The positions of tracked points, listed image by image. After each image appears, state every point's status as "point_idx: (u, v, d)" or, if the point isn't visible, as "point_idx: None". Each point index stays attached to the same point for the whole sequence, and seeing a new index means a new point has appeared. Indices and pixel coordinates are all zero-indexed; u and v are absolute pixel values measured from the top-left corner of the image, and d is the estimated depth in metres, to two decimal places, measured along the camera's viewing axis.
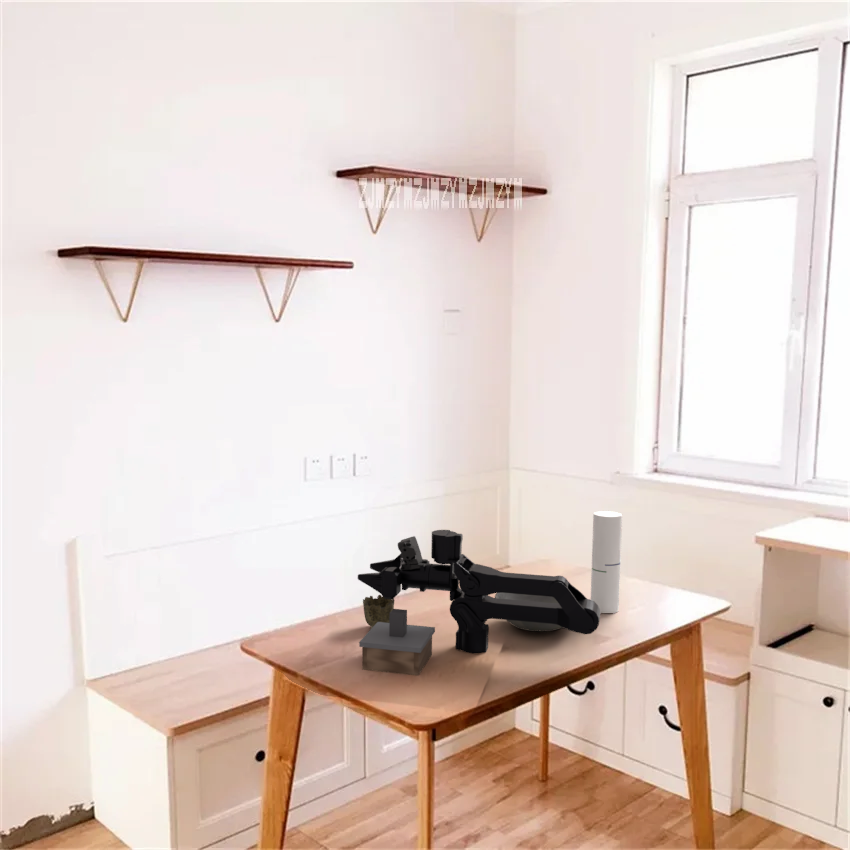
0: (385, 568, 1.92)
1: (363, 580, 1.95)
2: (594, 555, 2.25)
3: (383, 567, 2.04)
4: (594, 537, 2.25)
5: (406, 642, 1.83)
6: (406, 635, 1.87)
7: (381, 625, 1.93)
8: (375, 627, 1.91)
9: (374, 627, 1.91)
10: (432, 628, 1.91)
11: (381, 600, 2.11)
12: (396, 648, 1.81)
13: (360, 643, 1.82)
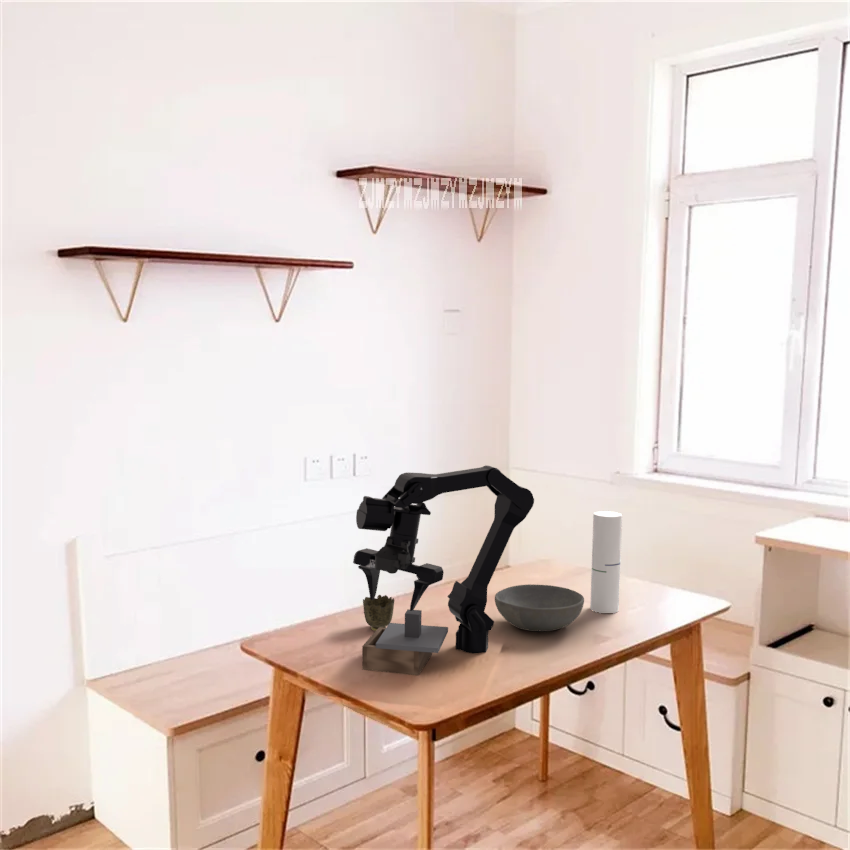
0: (420, 582, 1.82)
1: (416, 603, 1.86)
2: (594, 555, 2.25)
3: (374, 585, 1.89)
4: (594, 537, 2.25)
5: (422, 643, 1.82)
6: (421, 635, 1.87)
7: (394, 626, 1.92)
8: (388, 628, 1.91)
9: (387, 628, 1.91)
10: (445, 628, 1.91)
11: (381, 600, 2.11)
12: (413, 648, 1.80)
13: (376, 644, 1.82)
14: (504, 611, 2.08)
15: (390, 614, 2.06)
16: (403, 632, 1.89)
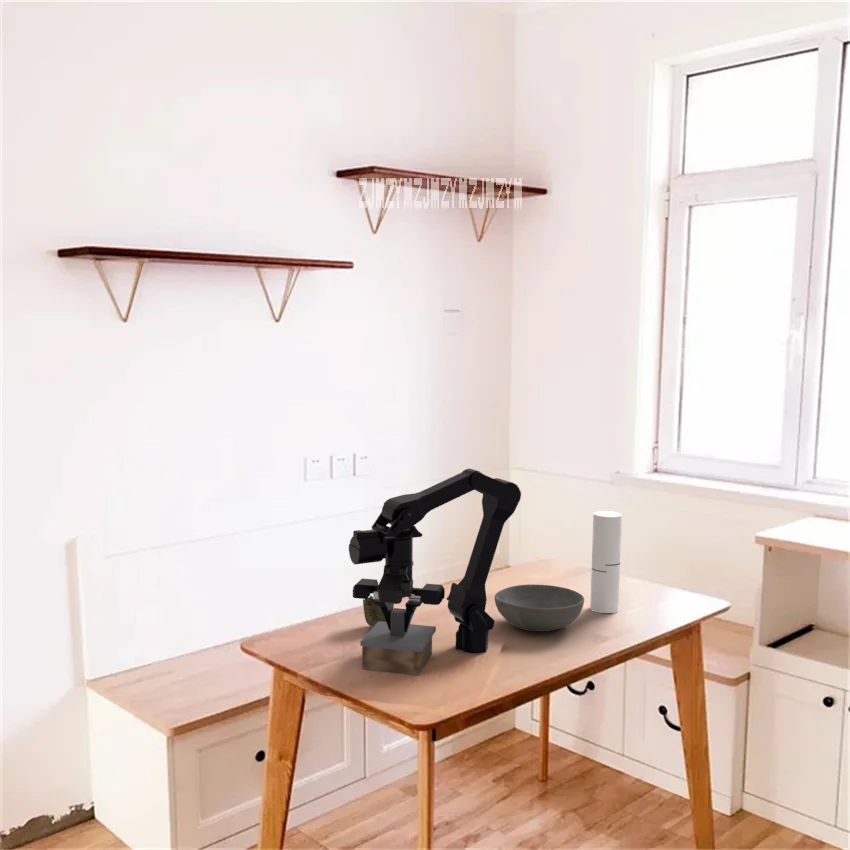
0: (412, 604, 1.83)
1: (409, 624, 1.87)
2: (594, 555, 2.25)
3: (390, 615, 1.87)
4: (594, 537, 2.25)
5: (407, 641, 1.83)
6: (407, 634, 1.87)
7: (382, 625, 1.93)
8: (376, 626, 1.92)
9: (375, 626, 1.92)
10: (433, 627, 1.92)
11: None
12: (397, 647, 1.81)
13: (361, 642, 1.83)
14: (504, 611, 2.08)
15: None
16: (390, 630, 1.89)
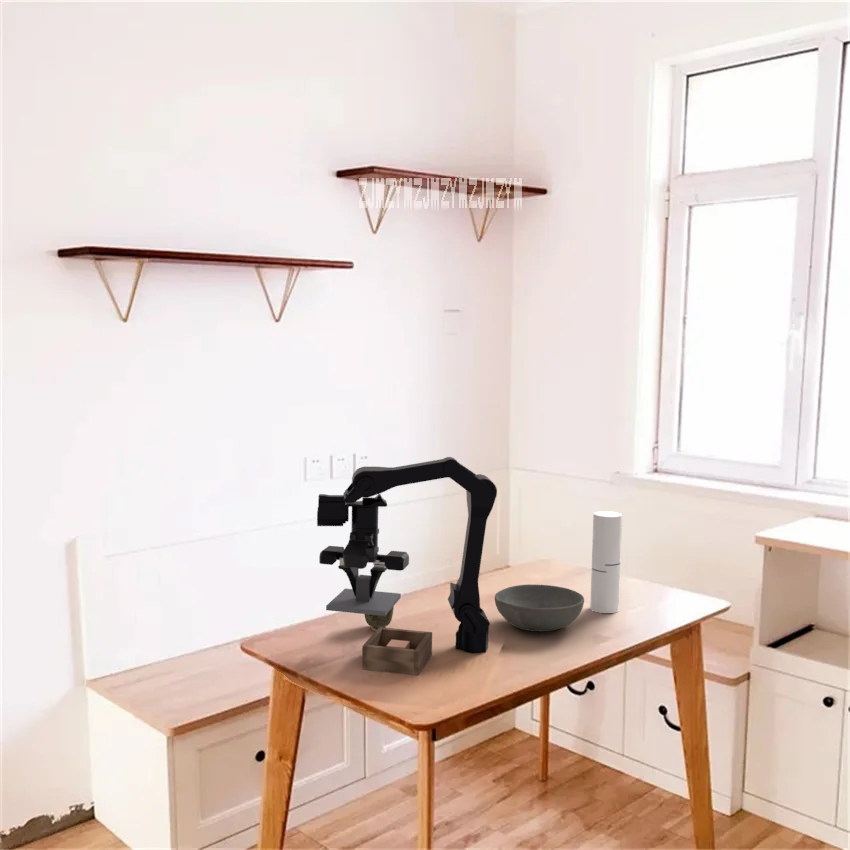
0: (377, 570, 1.88)
1: (374, 590, 1.92)
2: (594, 555, 2.25)
3: None
4: (594, 537, 2.25)
5: (371, 606, 1.88)
6: (372, 600, 1.92)
7: (348, 591, 1.98)
8: (342, 593, 1.97)
9: (341, 593, 1.97)
10: (398, 594, 1.97)
11: None
12: (362, 611, 1.86)
13: (327, 607, 1.88)
14: (504, 611, 2.08)
15: (390, 614, 2.06)
16: (355, 597, 1.94)
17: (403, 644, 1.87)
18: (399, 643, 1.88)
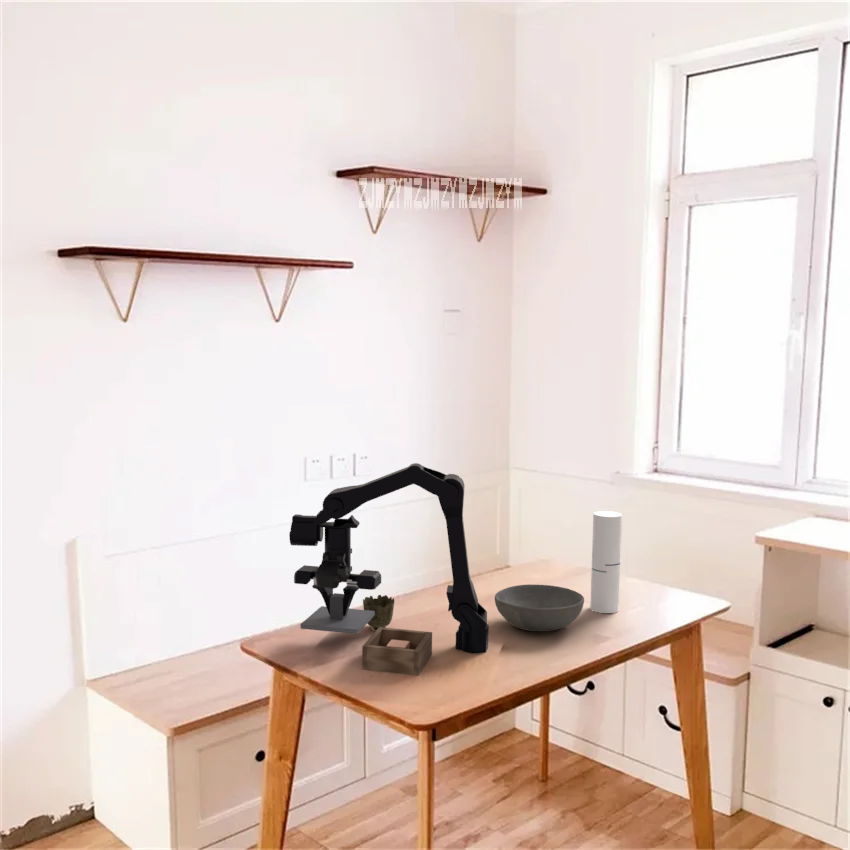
0: (349, 589, 1.93)
1: (348, 608, 1.97)
2: (594, 555, 2.25)
3: None
4: (594, 537, 2.25)
5: (344, 624, 1.93)
6: (346, 618, 1.98)
7: (324, 609, 2.03)
8: (318, 611, 2.02)
9: (317, 611, 2.02)
10: (372, 612, 2.02)
11: (381, 600, 2.11)
12: (334, 629, 1.92)
13: (301, 625, 1.93)
14: (504, 611, 2.08)
15: (390, 614, 2.06)
16: None
17: (403, 644, 1.87)
18: (399, 643, 1.88)
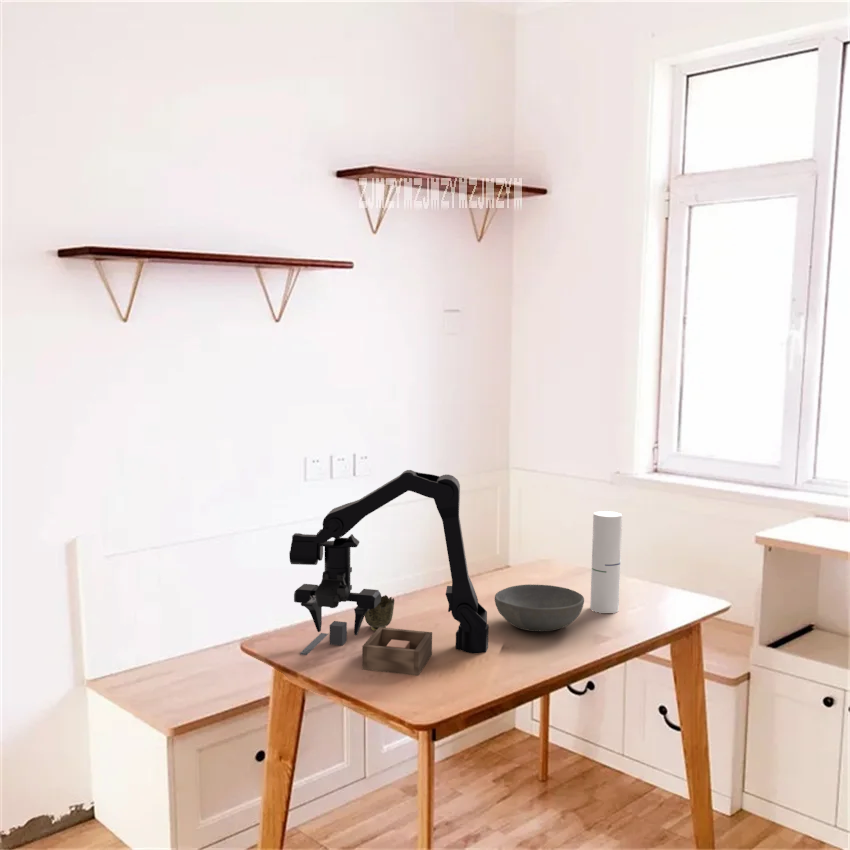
0: (360, 609, 1.93)
1: (359, 628, 1.97)
2: (594, 555, 2.25)
3: (319, 617, 1.99)
4: (594, 537, 2.25)
5: None
6: None
7: (324, 636, 2.04)
8: (318, 638, 2.03)
9: (317, 638, 2.03)
10: None
11: (381, 600, 2.11)
12: None
13: (301, 654, 1.94)
14: (504, 611, 2.08)
15: (390, 614, 2.06)
16: None
17: (403, 644, 1.87)
18: (399, 643, 1.88)
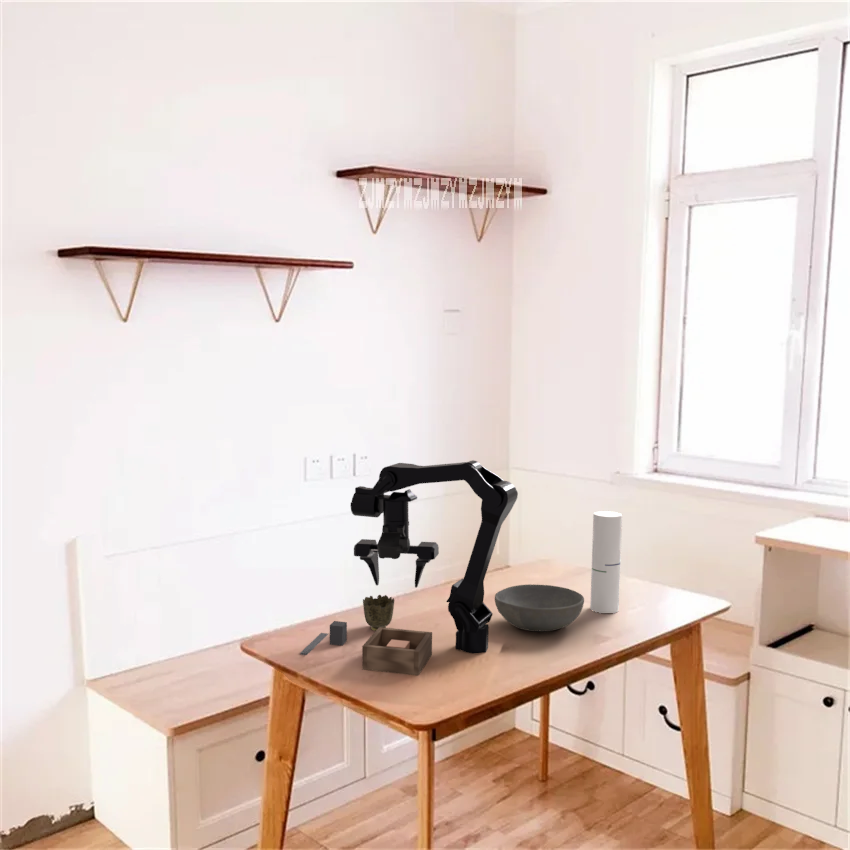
0: (422, 560, 1.98)
1: (419, 580, 2.02)
2: (594, 555, 2.25)
3: (377, 571, 2.04)
4: (594, 537, 2.25)
5: None
6: None
7: (323, 636, 2.04)
8: (318, 638, 2.03)
9: (317, 638, 2.03)
10: None
11: (381, 600, 2.11)
12: None
13: (301, 654, 1.94)
14: (504, 611, 2.08)
15: (390, 614, 2.06)
16: None
17: (403, 644, 1.87)
18: (399, 643, 1.88)
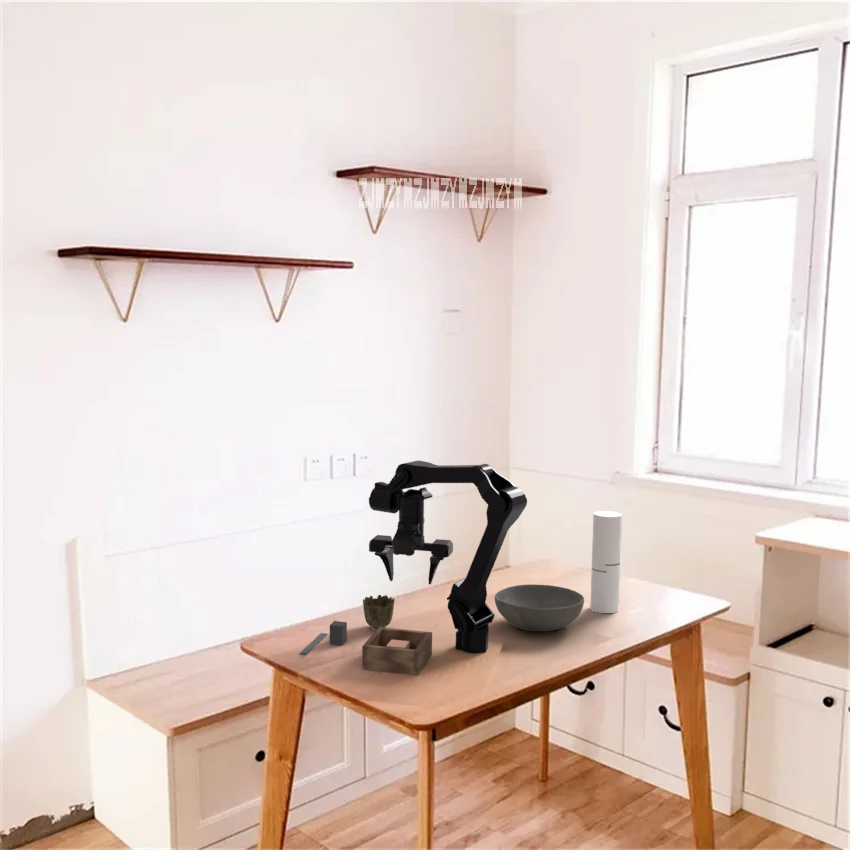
0: (436, 558, 1.99)
1: None
2: (594, 555, 2.25)
3: (391, 567, 2.05)
4: (594, 537, 2.25)
5: None
6: None
7: (323, 636, 2.04)
8: (318, 638, 2.03)
9: (317, 638, 2.03)
10: None
11: (381, 600, 2.11)
12: None
13: (301, 653, 1.94)
14: (504, 611, 2.08)
15: (390, 614, 2.06)
16: None
17: (403, 644, 1.87)
18: (399, 643, 1.88)
